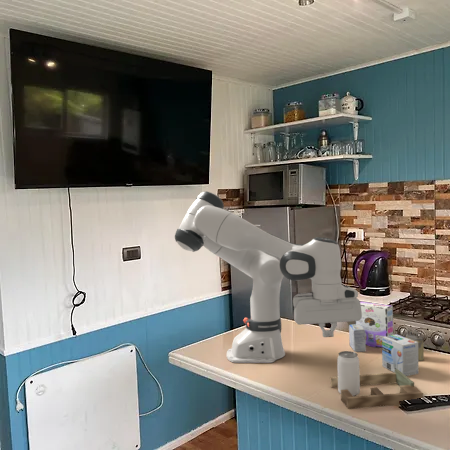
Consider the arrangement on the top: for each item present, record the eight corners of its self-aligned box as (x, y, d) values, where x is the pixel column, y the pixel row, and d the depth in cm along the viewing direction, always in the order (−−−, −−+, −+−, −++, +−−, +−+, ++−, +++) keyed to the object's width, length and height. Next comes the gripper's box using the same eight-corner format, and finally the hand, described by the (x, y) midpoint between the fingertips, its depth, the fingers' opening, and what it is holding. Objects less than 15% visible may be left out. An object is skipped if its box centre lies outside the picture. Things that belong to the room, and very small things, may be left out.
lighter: (426, 360, 167) (425, 332, 167) (418, 362, 165) (418, 334, 165) (410, 354, 173) (409, 328, 173) (402, 356, 172) (402, 329, 171)
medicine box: (366, 351, 178) (365, 329, 178) (354, 352, 178) (353, 329, 178) (360, 345, 186) (360, 323, 186) (349, 345, 186) (348, 324, 186)
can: (356, 387, 146) (355, 350, 145) (362, 396, 139) (362, 357, 139) (335, 388, 146) (334, 351, 145) (341, 397, 139) (340, 358, 138)
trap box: (347, 408, 132) (347, 395, 132) (330, 386, 148) (330, 373, 147) (422, 403, 133) (422, 389, 133) (397, 381, 149) (397, 369, 149)
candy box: (394, 346, 183) (393, 305, 182) (387, 350, 179) (386, 308, 178) (362, 339, 193) (361, 300, 192) (354, 343, 189) (354, 303, 188)
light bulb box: (381, 366, 163) (381, 336, 162) (397, 363, 165) (396, 333, 164) (403, 377, 153) (402, 345, 152) (419, 373, 155) (419, 342, 154)
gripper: (295, 295, 136) (296, 342, 137) (363, 291, 138) (364, 337, 139) (290, 291, 142) (291, 335, 143) (355, 287, 144) (356, 331, 145)
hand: (328, 336), depth 141 cm, fingers closed
